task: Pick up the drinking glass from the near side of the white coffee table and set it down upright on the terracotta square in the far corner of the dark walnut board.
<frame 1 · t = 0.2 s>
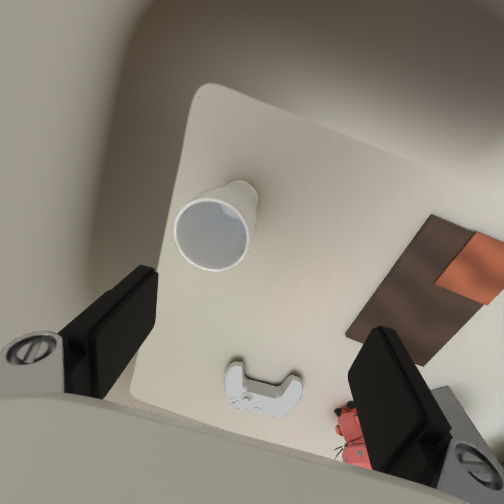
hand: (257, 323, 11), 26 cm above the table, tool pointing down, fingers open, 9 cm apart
drinking glass: (239, 198, 35), on the table
cat figurine: (348, 409, 49), on the table
corner board: (425, 298, 37), on the table
perfume bottle: (433, 402, 46), on the table
game controller: (262, 379, 49), on the table
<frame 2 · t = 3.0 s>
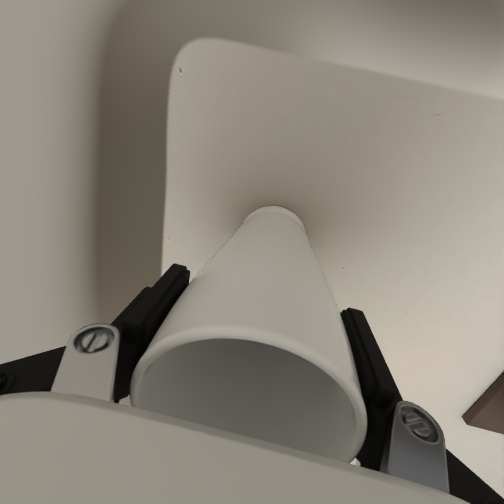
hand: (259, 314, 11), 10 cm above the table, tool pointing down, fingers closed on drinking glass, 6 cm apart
drinking glass: (272, 235, 21), on the table, touching gripper
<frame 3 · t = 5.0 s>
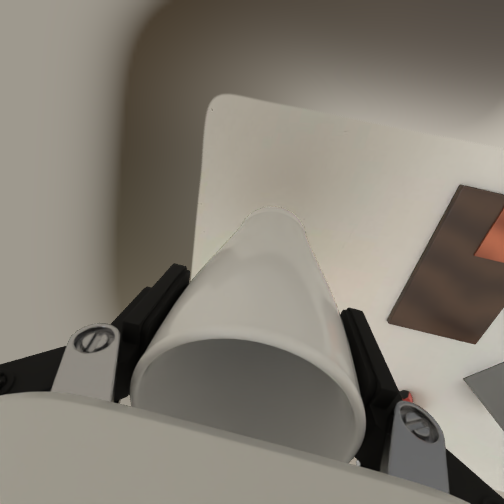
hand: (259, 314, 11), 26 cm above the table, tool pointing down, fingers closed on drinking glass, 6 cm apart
drinking glass: (272, 235, 21), point 16 cm above the table, touching gripper
corner board: (466, 272, 36), on the table
perfume bottle: (492, 381, 43), on the table
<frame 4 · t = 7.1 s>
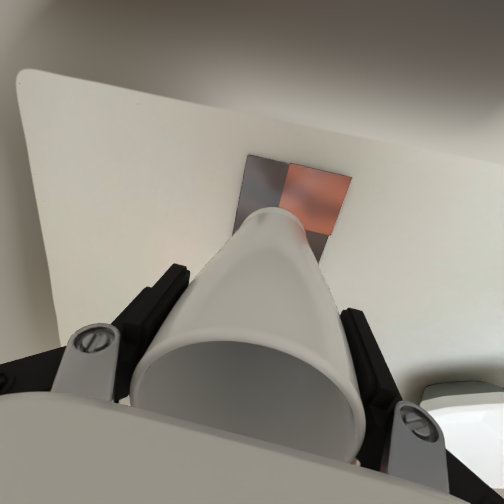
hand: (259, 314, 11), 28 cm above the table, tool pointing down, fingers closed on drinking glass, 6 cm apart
drinking glass: (272, 236, 21), point 17 cm above the table, touching gripper
corner board: (277, 238, 39), on the table
bowl: (453, 400, 48), on the table
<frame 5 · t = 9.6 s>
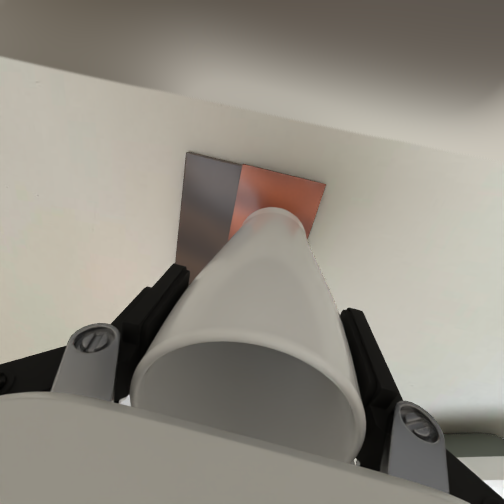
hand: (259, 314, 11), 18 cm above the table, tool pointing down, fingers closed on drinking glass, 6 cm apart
drinking glass: (272, 236, 21), point 7 cm above the table, touching gripper
corner board: (235, 261, 30), on the table
bowl: (456, 453, 40), on the table
when the fingers open (11 cm above the table, at t = 11.6 s): drinking glass stays where it is, resting on corner board.
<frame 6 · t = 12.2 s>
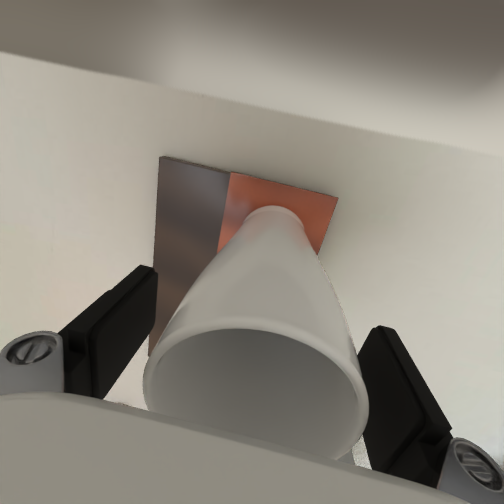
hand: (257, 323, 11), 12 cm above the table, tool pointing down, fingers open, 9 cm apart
drinking glass: (272, 234, 21), point 1 cm above the table, touching corner board
corner board: (224, 289, 25), on the table
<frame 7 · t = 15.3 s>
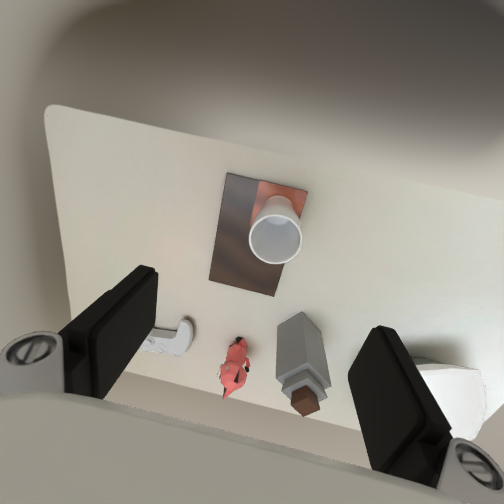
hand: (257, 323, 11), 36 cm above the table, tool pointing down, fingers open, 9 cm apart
drinking glass: (278, 209, 45), point 1 cm above the table, touching corner board
cat figurine: (240, 345, 60), on the table
corner board: (252, 239, 48), on the table
bowl: (402, 374, 58), on the table
perfume bottle: (299, 328, 56), on the table
game controller: (167, 328, 61), on the table
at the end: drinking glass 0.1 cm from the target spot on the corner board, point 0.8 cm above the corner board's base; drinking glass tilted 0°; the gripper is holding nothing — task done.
